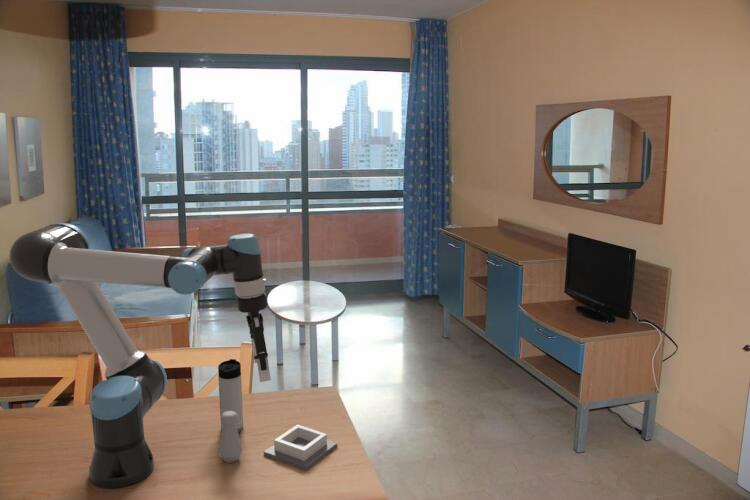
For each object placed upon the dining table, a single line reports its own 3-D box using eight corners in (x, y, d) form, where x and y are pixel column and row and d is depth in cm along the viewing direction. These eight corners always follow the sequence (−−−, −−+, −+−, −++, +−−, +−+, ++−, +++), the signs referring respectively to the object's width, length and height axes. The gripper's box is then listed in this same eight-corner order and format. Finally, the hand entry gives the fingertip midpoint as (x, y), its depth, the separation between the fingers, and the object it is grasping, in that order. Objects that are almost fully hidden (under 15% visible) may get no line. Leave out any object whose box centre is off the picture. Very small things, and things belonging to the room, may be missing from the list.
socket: (263, 454, 170) (263, 441, 169) (296, 432, 182) (296, 419, 181) (305, 470, 163) (305, 456, 162) (337, 446, 175) (337, 432, 174)
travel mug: (246, 423, 187) (243, 359, 182) (239, 434, 180) (236, 368, 176) (225, 422, 187) (222, 358, 183) (217, 433, 181) (214, 367, 176)
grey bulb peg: (239, 465, 165) (237, 418, 162) (217, 464, 165) (215, 418, 163) (244, 452, 171) (242, 408, 168) (223, 452, 171) (220, 407, 168)
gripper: (271, 304, 153) (283, 386, 158) (260, 280, 177) (270, 352, 182) (240, 310, 152) (252, 392, 156) (232, 285, 175) (243, 357, 180)
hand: (262, 371), depth 169 cm, fingers open, 13 cm apart
